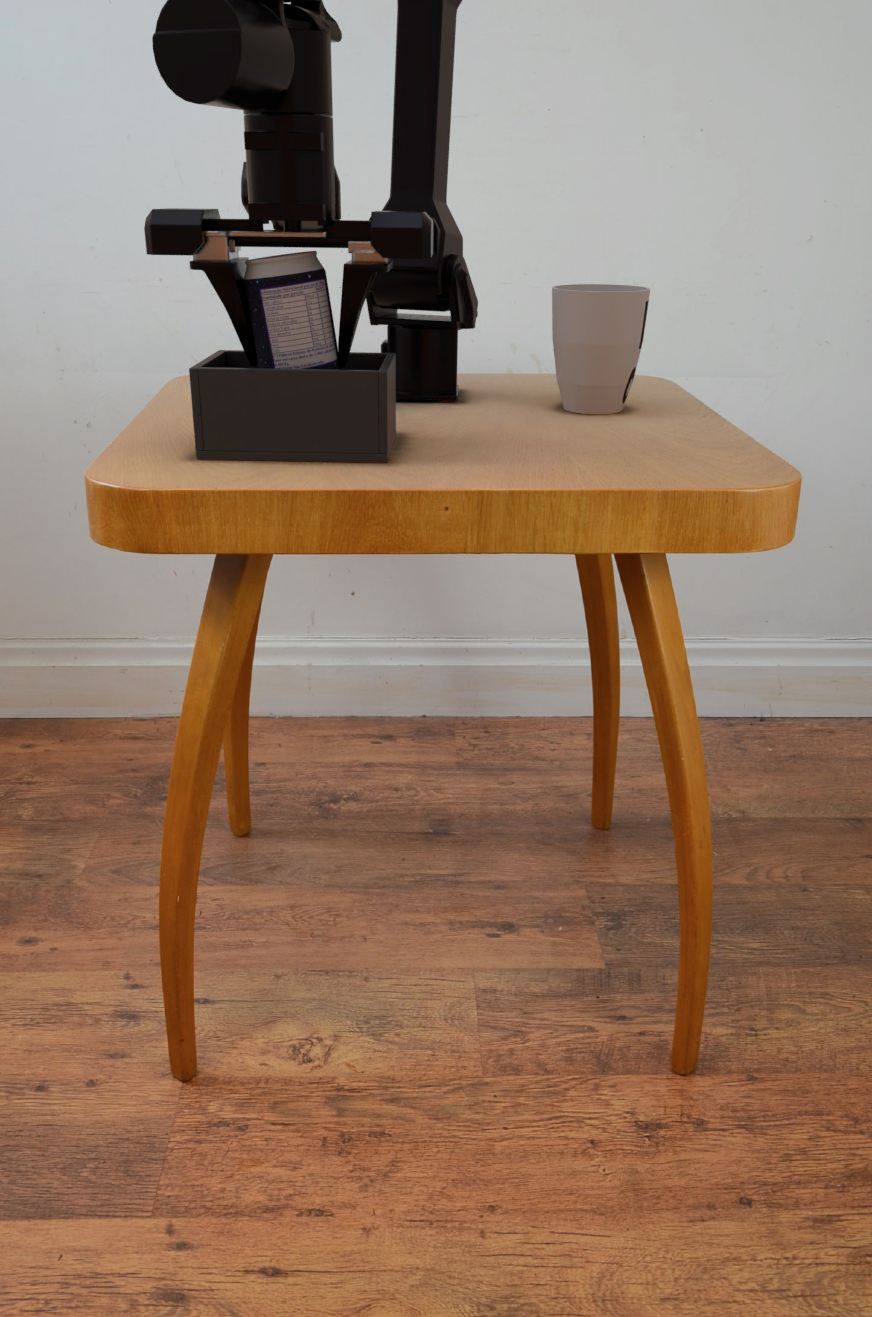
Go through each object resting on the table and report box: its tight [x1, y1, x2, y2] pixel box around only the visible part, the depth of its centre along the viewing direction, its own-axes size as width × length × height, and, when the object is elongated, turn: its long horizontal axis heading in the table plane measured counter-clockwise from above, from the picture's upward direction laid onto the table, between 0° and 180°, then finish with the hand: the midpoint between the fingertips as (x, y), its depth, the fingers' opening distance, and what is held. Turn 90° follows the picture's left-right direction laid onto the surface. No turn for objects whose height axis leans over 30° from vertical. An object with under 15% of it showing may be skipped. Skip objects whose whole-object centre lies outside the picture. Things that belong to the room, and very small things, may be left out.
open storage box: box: [188, 349, 397, 464], centre depth 74 cm, size 13×9×6 cm
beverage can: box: [243, 250, 341, 370], centre depth 73 cm, size 6×6×12 cm
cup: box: [551, 283, 651, 415], centre depth 89 cm, size 8×8×10 cm
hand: (298, 365), depth 73 cm, fingers closed on beverage can, 6 cm apart
